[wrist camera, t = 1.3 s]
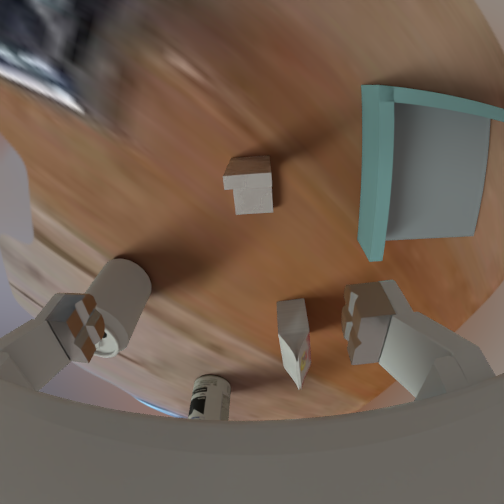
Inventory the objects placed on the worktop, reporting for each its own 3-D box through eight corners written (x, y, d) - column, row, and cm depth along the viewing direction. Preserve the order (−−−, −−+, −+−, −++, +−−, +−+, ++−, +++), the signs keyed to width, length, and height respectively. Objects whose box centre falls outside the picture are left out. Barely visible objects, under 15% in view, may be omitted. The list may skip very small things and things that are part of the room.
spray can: (205, 369, 48) (187, 477, 31) (239, 383, 50) (231, 487, 32) (188, 385, 51) (170, 482, 34) (220, 397, 53) (210, 492, 35)
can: (157, 265, 37) (125, 331, 27) (149, 306, 41) (122, 370, 31) (106, 247, 36) (62, 305, 26) (103, 289, 40) (67, 347, 30)
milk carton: (281, 336, 43) (284, 391, 34) (276, 301, 40) (279, 359, 31) (306, 333, 43) (314, 388, 34) (304, 298, 39) (313, 355, 31)
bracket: (230, 158, 30) (222, 176, 24) (269, 155, 30) (271, 172, 24) (236, 210, 33) (230, 240, 27) (272, 208, 33) (275, 237, 27)
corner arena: (361, 85, 26) (378, 84, 21) (487, 105, 24) (513, 112, 20) (357, 239, 35) (369, 261, 30) (471, 233, 33) (490, 252, 29)
